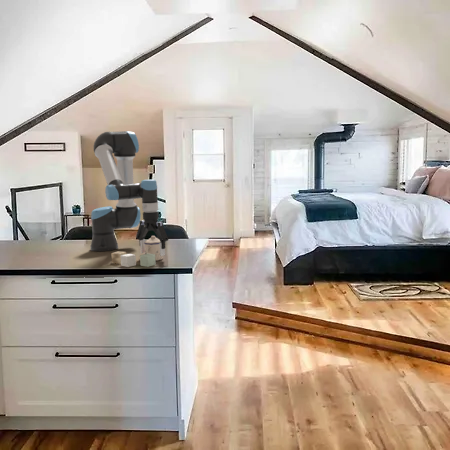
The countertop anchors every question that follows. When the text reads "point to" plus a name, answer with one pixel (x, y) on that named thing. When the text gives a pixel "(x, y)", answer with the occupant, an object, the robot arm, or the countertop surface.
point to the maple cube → (117, 257)
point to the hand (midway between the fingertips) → (152, 254)
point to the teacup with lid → (153, 247)
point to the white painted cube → (128, 260)
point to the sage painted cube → (147, 260)
